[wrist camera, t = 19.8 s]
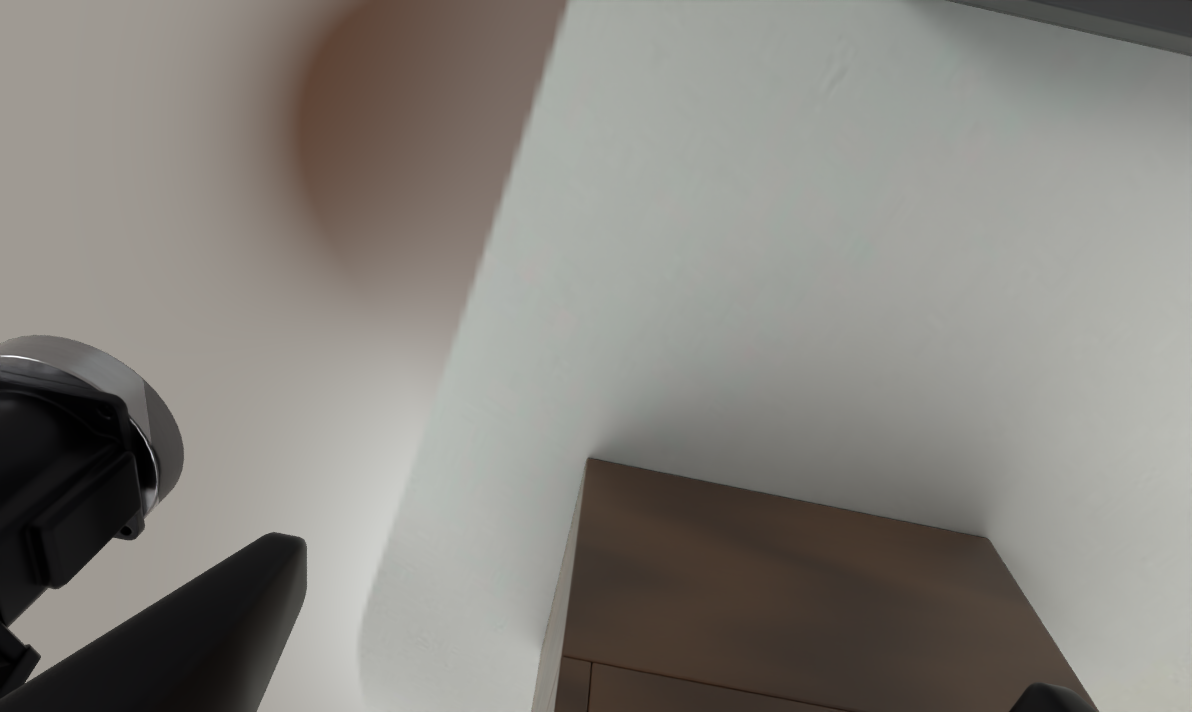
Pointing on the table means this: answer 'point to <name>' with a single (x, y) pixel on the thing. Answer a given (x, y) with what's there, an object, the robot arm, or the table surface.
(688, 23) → the table surface
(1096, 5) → the tub
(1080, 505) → the table surface
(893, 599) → the box
